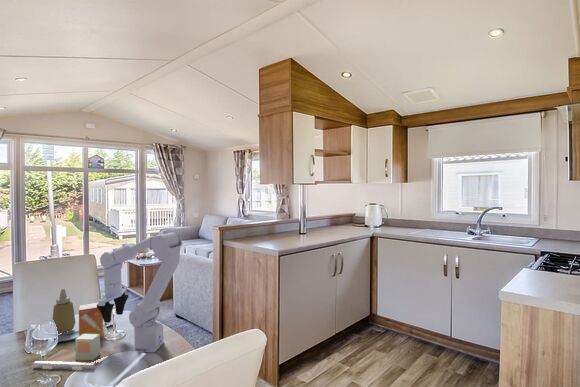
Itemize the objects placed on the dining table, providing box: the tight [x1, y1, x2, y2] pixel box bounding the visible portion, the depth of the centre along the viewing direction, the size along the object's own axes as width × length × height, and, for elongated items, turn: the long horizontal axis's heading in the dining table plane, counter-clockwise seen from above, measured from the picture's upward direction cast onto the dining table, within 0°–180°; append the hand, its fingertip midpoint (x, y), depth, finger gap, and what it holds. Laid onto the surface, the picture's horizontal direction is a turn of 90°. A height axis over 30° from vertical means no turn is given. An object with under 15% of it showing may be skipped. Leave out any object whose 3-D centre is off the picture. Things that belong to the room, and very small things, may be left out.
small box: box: [78, 302, 104, 338], centre depth 130 cm, size 8×6×13 cm
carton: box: [74, 334, 101, 360], centre depth 113 cm, size 4×6×7 cm, turn 86°
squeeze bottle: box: [52, 288, 76, 334], centre depth 135 cm, size 8×8×18 cm
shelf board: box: [33, 348, 116, 371], centre depth 111 cm, size 20×12×3 cm, turn 86°
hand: (113, 318), depth 126 cm, fingers open, 7 cm apart
